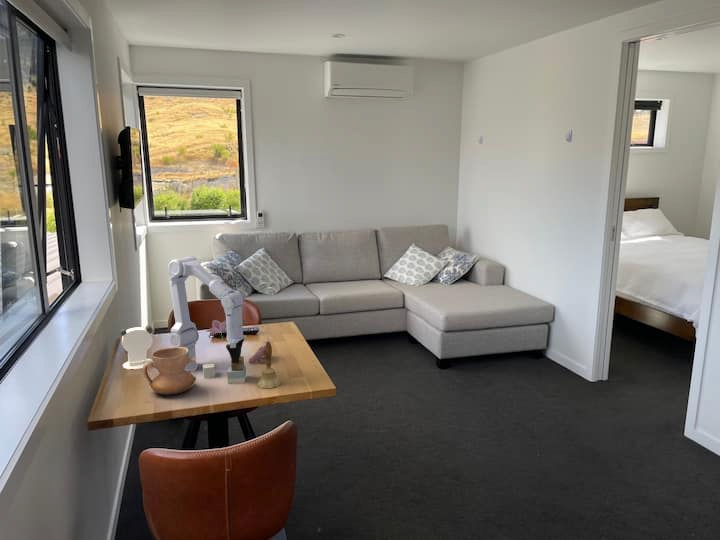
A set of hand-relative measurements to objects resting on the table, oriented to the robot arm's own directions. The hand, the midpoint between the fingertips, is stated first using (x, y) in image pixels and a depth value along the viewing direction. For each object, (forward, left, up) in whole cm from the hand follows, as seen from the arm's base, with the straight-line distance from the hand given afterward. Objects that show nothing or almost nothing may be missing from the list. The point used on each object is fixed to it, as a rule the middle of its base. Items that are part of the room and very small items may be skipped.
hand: (236, 360), depth 198 cm
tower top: (0, 0, -6) cm, 6 cm away
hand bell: (+12, -6, -8) cm, 15 cm away
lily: (-14, +50, -8) cm, 53 cm away
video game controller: (+7, +19, -8) cm, 22 cm away
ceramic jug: (-22, -7, -8) cm, 24 cm away
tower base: (0, 0, -8) cm, 8 cm away
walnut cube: (+1, 0, -3) cm, 3 cm away
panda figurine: (-41, +21, -8) cm, 47 cm away
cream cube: (-11, +5, -8) cm, 14 cm away
